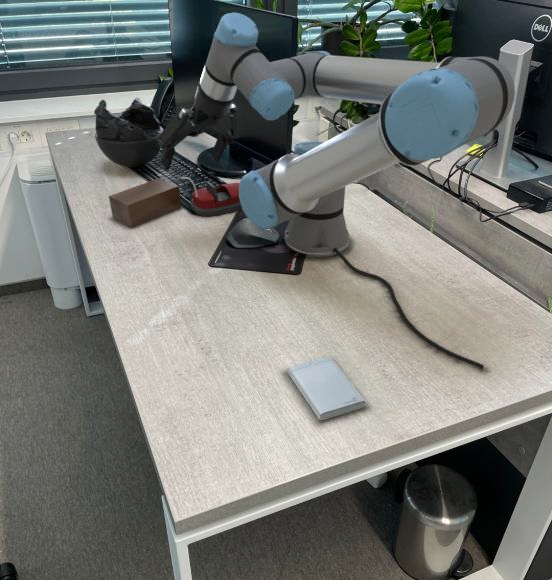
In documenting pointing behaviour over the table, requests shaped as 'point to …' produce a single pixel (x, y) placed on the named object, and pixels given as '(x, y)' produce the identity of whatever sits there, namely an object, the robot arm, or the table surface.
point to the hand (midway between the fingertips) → (190, 162)
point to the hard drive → (326, 388)
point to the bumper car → (215, 199)
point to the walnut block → (145, 202)
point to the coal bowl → (128, 134)
